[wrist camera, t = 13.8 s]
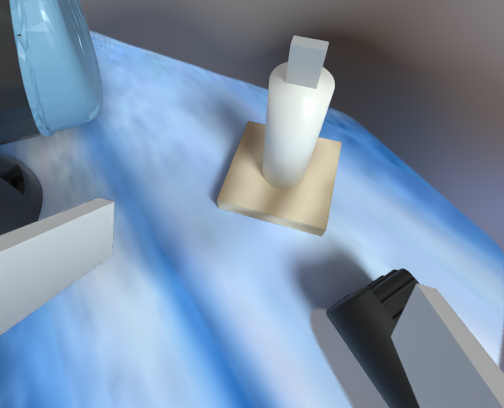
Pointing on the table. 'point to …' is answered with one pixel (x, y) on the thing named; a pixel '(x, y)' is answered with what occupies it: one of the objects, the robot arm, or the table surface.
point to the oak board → (274, 199)
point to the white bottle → (295, 112)
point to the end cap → (378, 333)
